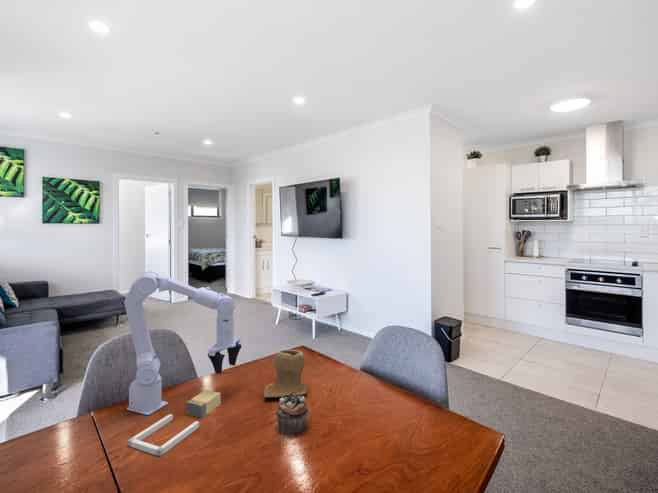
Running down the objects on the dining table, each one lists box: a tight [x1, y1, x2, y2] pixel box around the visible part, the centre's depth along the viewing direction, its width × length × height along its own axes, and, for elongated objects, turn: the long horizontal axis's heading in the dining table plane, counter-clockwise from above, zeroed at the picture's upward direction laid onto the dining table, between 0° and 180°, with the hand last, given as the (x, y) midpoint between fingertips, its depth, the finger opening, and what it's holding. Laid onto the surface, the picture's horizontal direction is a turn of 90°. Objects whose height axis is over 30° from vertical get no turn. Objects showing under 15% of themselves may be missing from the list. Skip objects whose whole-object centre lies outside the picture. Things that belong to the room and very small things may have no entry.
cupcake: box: [275, 392, 309, 436], centre depth 102 cm, size 10×10×10 cm
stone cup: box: [263, 349, 308, 399], centre depth 123 cm, size 15×12×15 cm
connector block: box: [185, 389, 222, 419], centre depth 111 cm, size 6×9×4 cm
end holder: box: [127, 413, 200, 457], centre depth 97 cm, size 11×14×2 cm
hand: (225, 369), depth 120 cm, fingers open, 7 cm apart
